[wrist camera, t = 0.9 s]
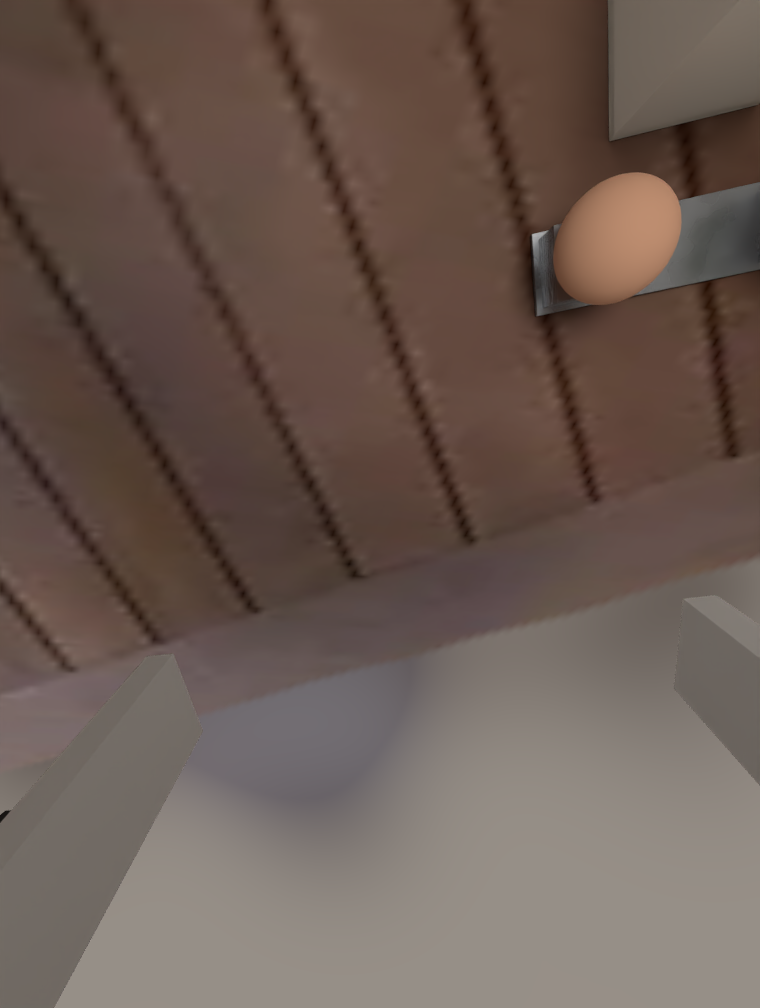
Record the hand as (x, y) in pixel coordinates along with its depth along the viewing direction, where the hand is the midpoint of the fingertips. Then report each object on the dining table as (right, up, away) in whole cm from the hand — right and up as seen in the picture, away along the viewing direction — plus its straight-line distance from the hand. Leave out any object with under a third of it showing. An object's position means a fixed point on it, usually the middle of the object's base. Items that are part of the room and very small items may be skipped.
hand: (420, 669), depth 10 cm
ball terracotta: (+12, +20, +14) cm, 27 cm away
